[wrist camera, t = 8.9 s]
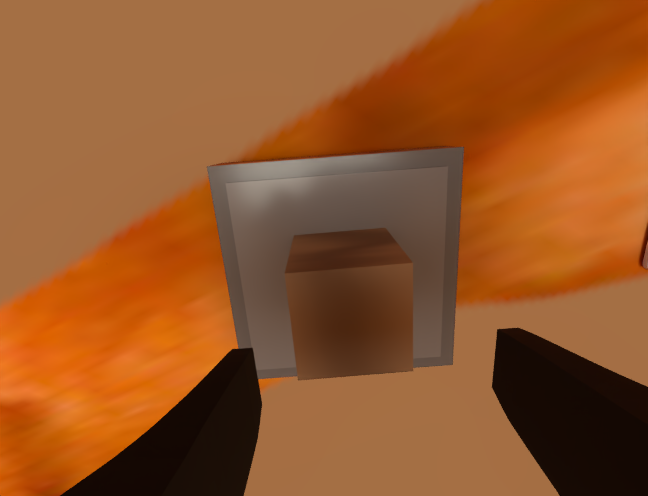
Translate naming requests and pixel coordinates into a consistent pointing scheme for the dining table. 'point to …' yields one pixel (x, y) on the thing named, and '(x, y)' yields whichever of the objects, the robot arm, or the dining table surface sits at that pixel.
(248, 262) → the tray
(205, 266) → the dining table surface
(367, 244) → the block
